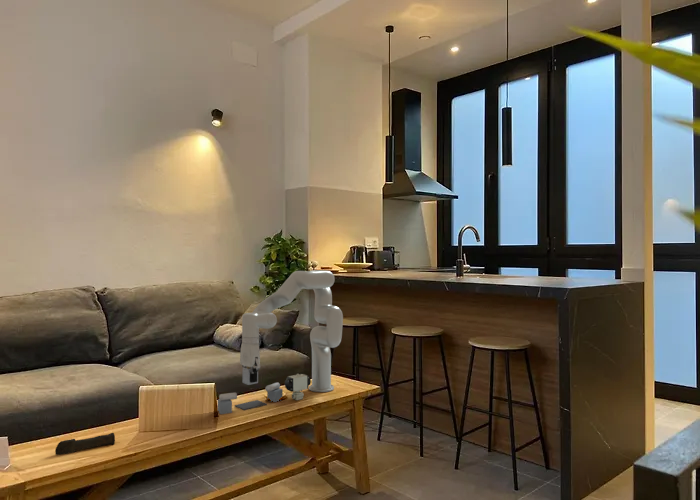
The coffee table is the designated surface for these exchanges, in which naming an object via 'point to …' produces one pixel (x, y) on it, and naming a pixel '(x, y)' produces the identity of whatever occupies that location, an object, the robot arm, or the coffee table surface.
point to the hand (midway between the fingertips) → (250, 380)
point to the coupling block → (248, 375)
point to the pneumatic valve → (297, 385)
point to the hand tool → (83, 443)
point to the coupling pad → (250, 405)
